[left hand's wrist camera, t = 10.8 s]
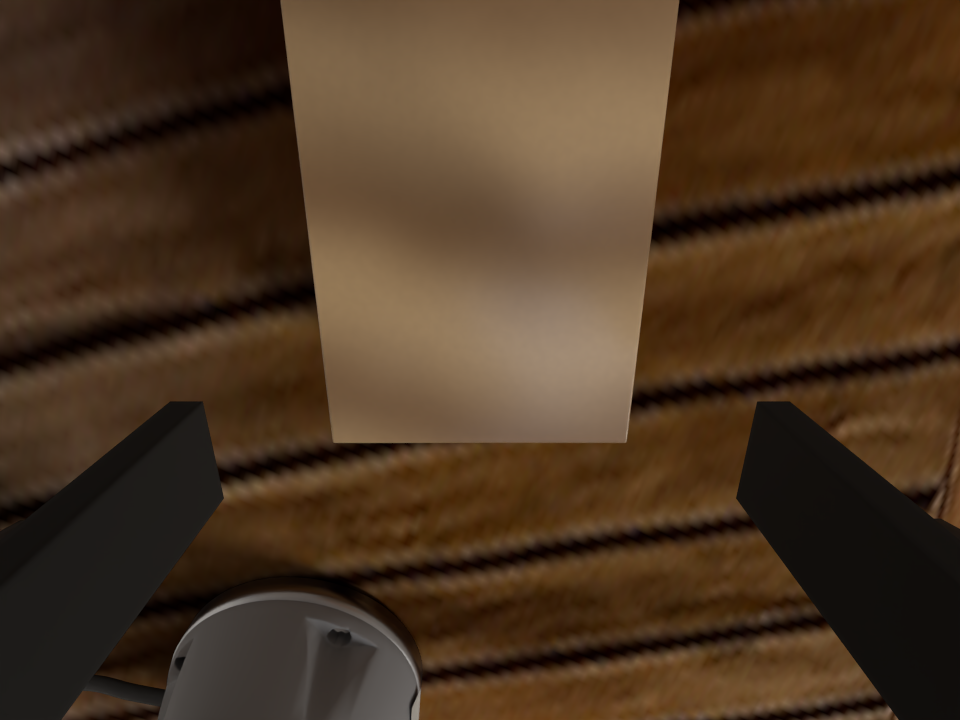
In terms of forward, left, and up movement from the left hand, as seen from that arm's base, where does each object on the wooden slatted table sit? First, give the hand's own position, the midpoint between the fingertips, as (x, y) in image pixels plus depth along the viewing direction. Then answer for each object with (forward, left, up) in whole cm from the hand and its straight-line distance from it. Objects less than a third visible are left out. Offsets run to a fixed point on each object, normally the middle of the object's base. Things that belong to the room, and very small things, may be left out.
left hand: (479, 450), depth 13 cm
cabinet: (+1, +5, -13) cm, 14 cm away
